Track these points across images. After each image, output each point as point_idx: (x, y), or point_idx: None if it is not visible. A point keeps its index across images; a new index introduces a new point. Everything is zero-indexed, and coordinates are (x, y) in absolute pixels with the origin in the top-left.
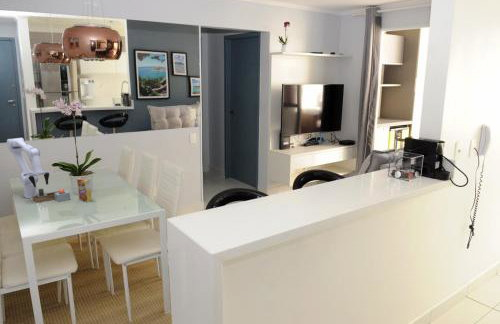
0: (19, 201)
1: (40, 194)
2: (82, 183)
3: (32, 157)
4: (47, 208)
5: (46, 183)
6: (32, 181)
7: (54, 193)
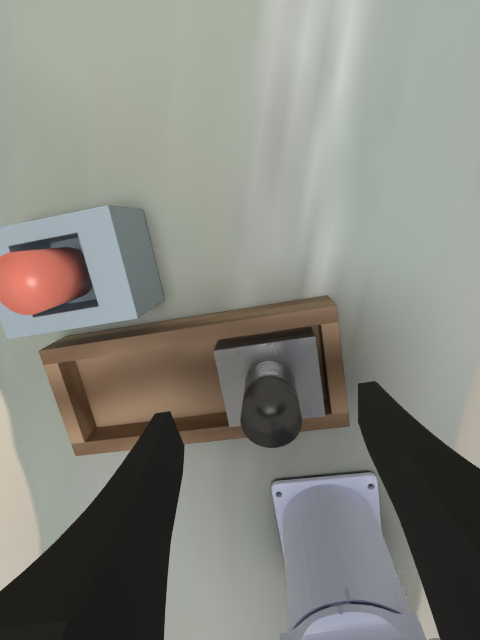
0: (449, 431)
1: (283, 369)
2: None
3: None
4: (270, 18)
5: (175, 448)
6: (473, 471)
7: (136, 309)
